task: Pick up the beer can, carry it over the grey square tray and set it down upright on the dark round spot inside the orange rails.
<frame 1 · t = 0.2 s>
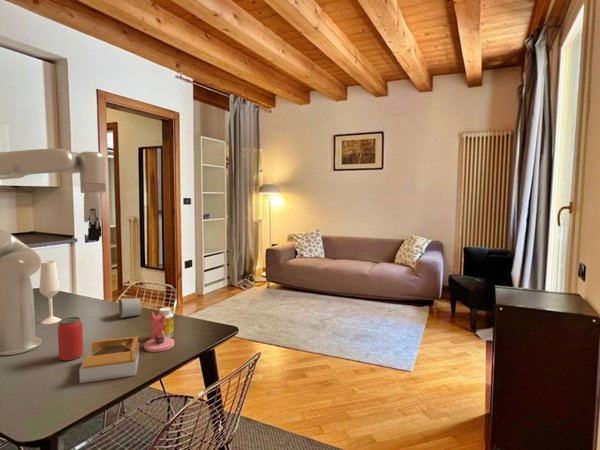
hand: (95, 238, 125), 36 cm above the table, tool pointing down, fingers open, 9 cm apart
beer can: (71, 357, 115), on the table
toy figure: (159, 346, 124), on the table
ceramic mug: (129, 315, 153), on the table
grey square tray: (112, 367, 108), on the table
champagne flute: (51, 321, 145), on the table
supplement bottle: (165, 336, 132), on the table
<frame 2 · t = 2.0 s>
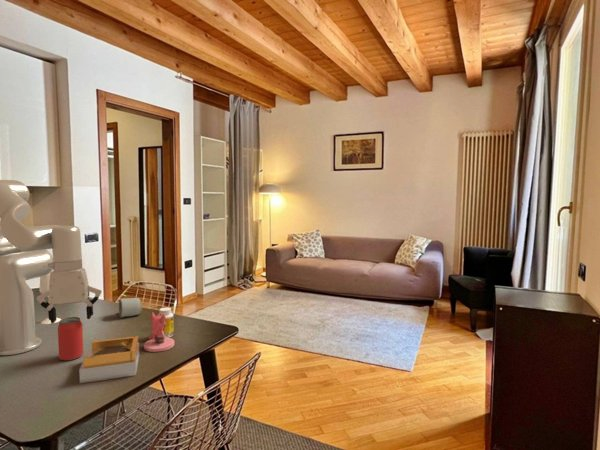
hand: (71, 319, 113), 12 cm above the table, tool pointing down, fingers open, 9 cm apart
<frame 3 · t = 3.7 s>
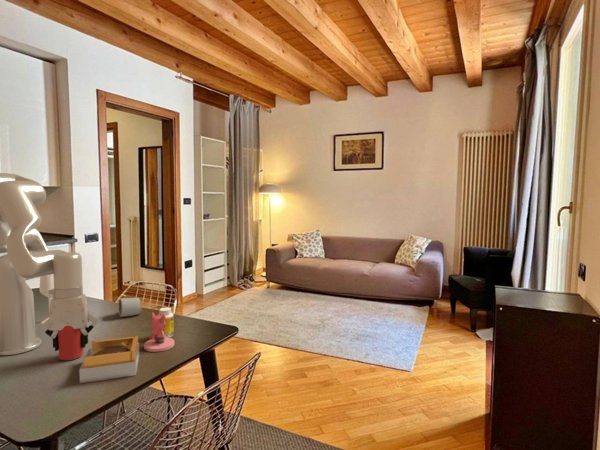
hand: (71, 347, 114), 3 cm above the table, tool pointing down, fingers closed on beer can, 6 cm apart
beer can: (71, 357, 115), on the table, touching gripper
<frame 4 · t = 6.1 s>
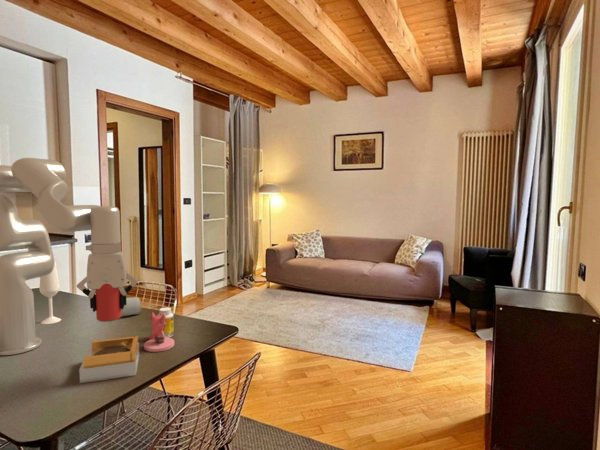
hand: (109, 308, 106), 18 cm above the table, tool pointing down, fingers closed on beer can, 6 cm apart
beer can: (109, 319, 107), point 15 cm above the table, touching gripper
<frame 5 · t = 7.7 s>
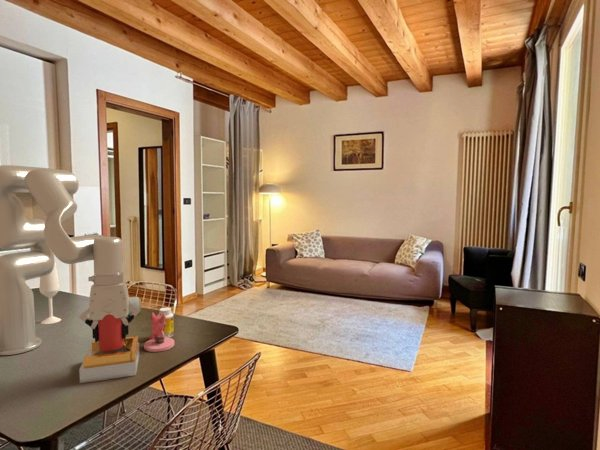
hand: (111, 338, 107), 9 cm above the table, tool pointing down, fingers closed on beer can, 6 cm apart
beer can: (111, 348, 107), point 6 cm above the table, touching gripper
when the fingers open (8 cm above the table, at t = 8.9 s): beer can stays where it is, resting on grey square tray.
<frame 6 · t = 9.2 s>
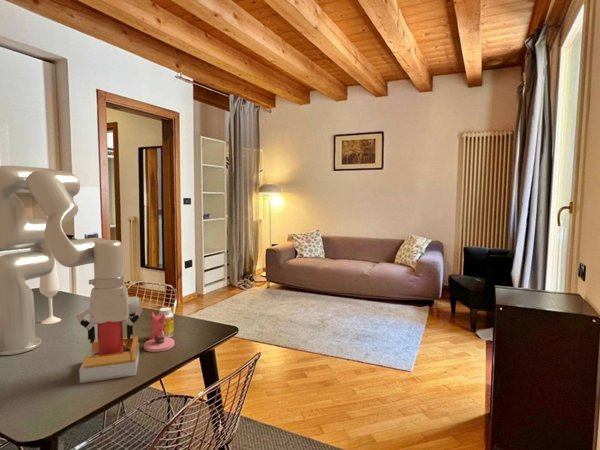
hand: (111, 339, 107), 9 cm above the table, tool pointing down, fingers open, 9 cm apart
beer can: (111, 354, 107), point 4 cm above the table, touching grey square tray
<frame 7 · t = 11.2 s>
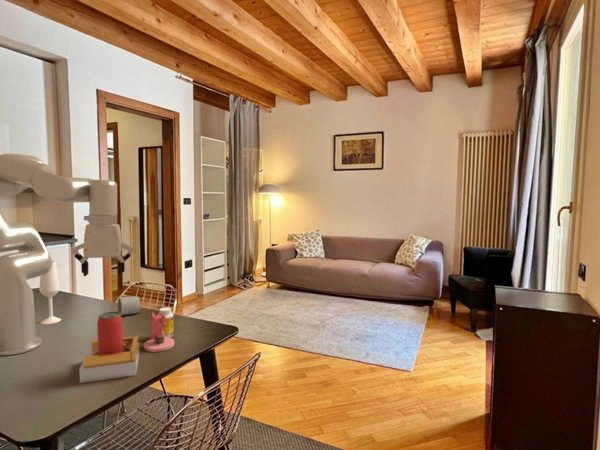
hand: (103, 274, 113), 26 cm above the table, tool pointing down, fingers open, 9 cm apart
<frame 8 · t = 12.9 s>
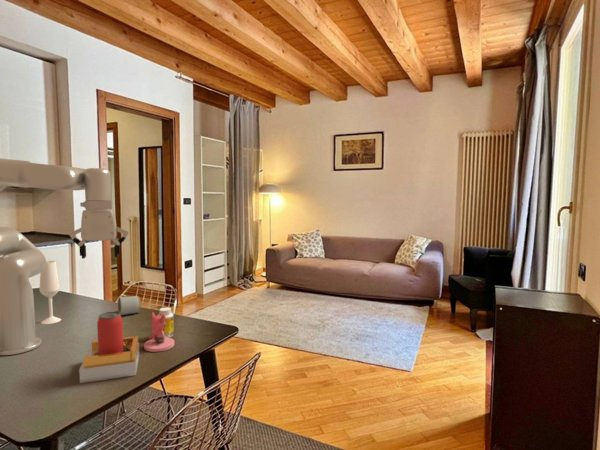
hand: (100, 257, 121), 30 cm above the table, tool pointing down, fingers open, 9 cm apart
at the end: beer can inside the target area on the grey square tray (0.2 cm from its centre), point 4.1 cm above the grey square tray's base; beer can tilted 0°; the gripper is holding nothing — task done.
